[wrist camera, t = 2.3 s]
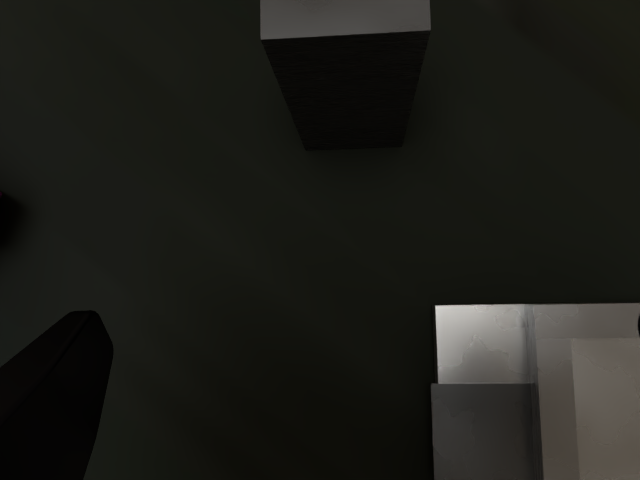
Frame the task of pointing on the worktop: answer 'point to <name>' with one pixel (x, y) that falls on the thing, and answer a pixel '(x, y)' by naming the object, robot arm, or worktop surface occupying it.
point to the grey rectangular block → (347, 67)
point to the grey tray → (536, 391)
